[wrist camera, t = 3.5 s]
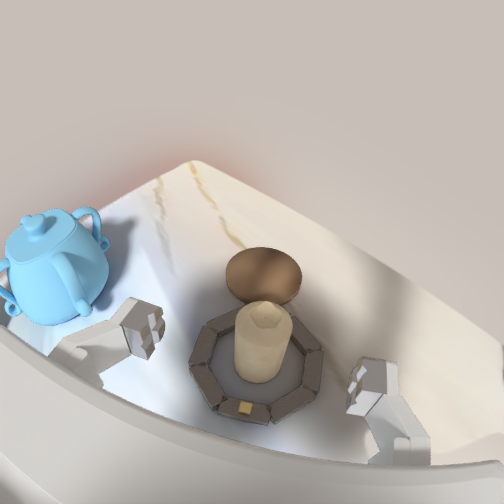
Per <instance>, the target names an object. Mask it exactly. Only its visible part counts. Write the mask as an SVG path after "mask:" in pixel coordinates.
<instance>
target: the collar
mask: <svg viewBox="0 0 504 504" xmlns="http://www.w3.org/2000/svg"><path fill="white" fill-rule="evenodd" d="M243 307H244V306H242V307H240V308H238V309H236V310H233V311H231V312H229V313H227V314H224V315H222V316H220V317H218V318H215V319H213V320H211V321H208V322H207V327H205V326H203V327H202V329H201V332H200V334H199V337H198V339H197V342H196V345H195V347H194V350H193V352H192V355H191V357H190V360H189V362H188V363H189V367H191V368H189V371H190V374H191V375H192V377H193V379H194V381H195V382H196V384H197V386H198V388H199V389H200V391H201V393H202V394H203V396H204V398H205V399H206V401H207V402H208V404H209V406H210V407H211V409H212V411H213V410H215V409H217V408H219V409H218V415H222V416H225V417H230V418H234V419H238V420H242V421H247V422H251V423H256V424H261V425H266V426H268V423H269V420H270V419H271V421H272V422H273V423H274V425H275V424H276V423H278V422H280V421H281V420H283V419H284V418H286V417H288V416H289V415H291V414H293V413H294V412H296V411H297V410H299V409H300V408H302V407H303V406H305V405H306V404H308V403H309V402H311V401H312V400H314V398H315V397H316V395H317V394H318V392H319V389H320V380H321V371H322V362H323V352H324V351H320V349H321V347H322V346H321V345H320V344H319V343H318V341H317V340H316V339H315V338H314V337H313V336H312V335H311V334H310V332H309V331H308V330H307V329H306V328H305V327H304V326H303V324H302V323H301V322H300V321H299V320H298V319H297V318H296V317H293V318H291V319H292V323H293V329H292V333H291V336H290V339H291V340H292V341H293V342H294V344H295V345H296V346H297V347H298V348H299V350H300V351H301V352H302V353H303V354H304V356H305V361H304V368H303V374H302V381H301V386H300V387H298V388H297V389H295V390H294V391H292V392H290V393H289V394H287V395H285V396H284V397H282V398H280V399H279V400H277V401H275V402H274V403H272V404H270V405H264V404H259V403H254V402H249V401H245V400H241V399H236V398H232V397H228V396H226V395H225V393H224V392H223V390H222V388H221V387H220V385H219V384H218V382H217V381H216V379H215V377H214V376H213V374H212V373H211V371H210V369H209V368H208V364H209V361H210V358H211V355H212V353H213V350H214V347H215V344H216V341H217V338H218V337H221V336H223V335H225V334H227V333H229V332H231V331H234V330H235V321H236V317H237V314H238V312H239V311H240V310H241V309H242V308H243ZM289 315H290V313H289Z"/></svg>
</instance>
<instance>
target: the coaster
mask: <svg viewBox="0 0 504 504" xmlns="http://www.w3.org/2000/svg"><path fill="white" fill-rule="evenodd" d="M301 280H302V273H301V270H300V267H299V266H298V264H297V263H296V262H295V260H294V259H292V258H291V257H290V256H289V255H287V254H285V253H284V252H281V251H279V250H276V249H272V248H265V247H256V248H250V249H246V250H243V251H241V252H239V253H237V254H236V255H235V256H233V257H232V258H231V260H230V261H229V263H228V265H227V268H226V282H227V285H228V288H229V289H230V291H231V292H232V293H233V295H234V296H236V297H237V298H238V299H240V300H241V301H243V302H245V303H247V304H250V303H252V302H257V301H269V302H272V303H275V304H278V305H282V304H285V303H287V302H289V301H290V300H291V299H293V298H294V297H295V296H296V294H297V293H298V291H299V288H300V284H301Z"/></svg>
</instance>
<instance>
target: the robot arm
mask: <svg viewBox="0 0 504 504" xmlns="http://www.w3.org/2000/svg"><path fill="white" fill-rule="evenodd" d="M162 315H163V310H162V308H161V307H158V306H155V305H153V304H150V303H147V302H144V301H142V300H139V299H136V298H133V297H130V298H128V299H127V300H126V301H125V302H124V303H123V305H122V306H121V307H120V308H119V309H118V311H117V312H116V313H115V314H114V315H113V317H112V318H111V319H110V320H109V321H108V320H105V321H102V322H100V323H98V324H95V325H93V326H90V327H88V328H86V329H83V330H81V331H78V332H76V333H73V334H71V335H68V336H66V337H64V338H63V339H62V340H61V341H60V342H59V343H58V344H57V346H56V347H55V348H54V349H53V351H52V352H51V353H50V354H49V355H48V357H47V356H46V355H44V354H43V353H41V352H40V351H38V350H37V349H35V348H34V347H32V346H31V345H29V344H28V343H26V342H25V341H24V340H22V339H21V338H19V337H18V336H17V335H15V334H14V333H13V332H11V331H10V330H9V329H7V328H6V327H5V326H3V325H0V504H504V465H503V464H502V463H501V462H500V461H499V460H488V461H481V462H473V463H463V464H450V465H431V466H430V437H429V435H428V434H427V432H426V431H425V429H424V428H423V426H422V425H421V423H420V422H419V420H418V419H417V417H416V416H415V414H414V413H413V411H412V410H411V408H410V407H409V405H408V404H407V402H406V401H405V399H404V398H403V396H399V378H398V364H397V362H393V361H387V360H382V359H375V358H368V357H362V356H361V357H360V358H359V360H358V362H357V367H356V368H354V369H353V371H352V373H351V375H350V378H349V383H348V391H349V393H350V395H349V397H348V398H347V402H346V413H347V414H353V415H359V416H365V419H366V421H367V424H368V426H369V428H370V430H371V432H372V434H373V437H374V439H375V441H376V443H377V445H378V448H379V450H380V452H378V453H377V454H376V455H375V456H374V457H372V458H371V459H369V460H368V464H359V463H349V462H340V461H332V460H324V459H318V458H311V457H305V456H300V455H294V454H289V453H284V452H279V451H275V450H270V449H266V448H262V447H258V446H254V445H250V444H246V443H242V442H238V441H235V440H231V439H228V438H224V437H221V436H218V435H215V434H212V433H208V432H205V431H202V430H199V429H196V428H194V427H191V426H188V425H185V424H182V423H180V422H177V421H174V420H172V419H169V418H167V417H164V416H162V415H159V414H157V413H154V412H152V411H150V410H147V409H145V408H143V407H140V406H138V405H136V404H134V403H131V402H129V401H127V400H125V399H123V398H121V397H119V396H117V395H115V394H113V393H111V392H109V391H107V390H105V389H103V388H102V387H103V385H104V384H103V381H102V380H101V378H100V376H99V374H100V373H101V372H103V371H105V370H107V369H108V368H110V367H112V366H113V365H115V364H117V363H118V362H120V361H122V360H123V359H125V358H127V357H129V356H130V355H131V354H133V355H135V356H138V357H141V358H143V359H146V360H148V359H149V358H150V356H151V354H152V353H153V351H154V350H155V346H154V344H155V343H158V342H160V340H161V339H162V337H163V334H164V331H165V321H164V320H163V318H162V317H161V316H162Z"/></svg>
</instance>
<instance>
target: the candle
mask: <svg viewBox="0 0 504 504" xmlns="http://www.w3.org/2000/svg"><path fill="white" fill-rule="evenodd" d="M292 329H293V323H292V319H291V317H290V315H289V313H288V312H287V311H286V310H285V309H284V308H283V307H281V306H280V305H278V304H275V303H272V302H269V301H257V302H252V303H250V304H248V305H246V306H244V307H243V308H242V309H241V310H240V311H239V312H238V314H237V317H236V321H235V347H234V366H235V369H236V371H237V373H238V374H239V375H240V377H242V378H243V379H244V380H246V381H248V382H251V383H265V382H268V381H270V380H271V379H273V378H274V377H275V376H276V375H277V374H278V372H279V370H280V367H281V364H282V361H283V358H284V355H285V352H286V349H287V346H288V342H289V339H290V336H291V333H292Z"/></svg>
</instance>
